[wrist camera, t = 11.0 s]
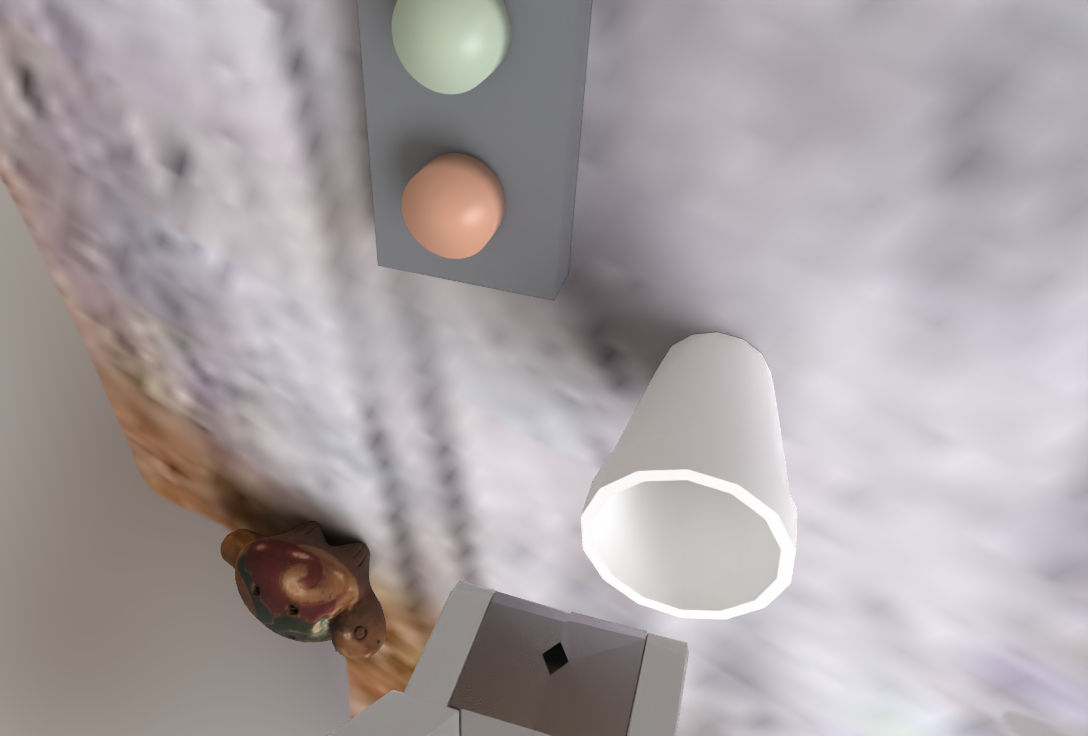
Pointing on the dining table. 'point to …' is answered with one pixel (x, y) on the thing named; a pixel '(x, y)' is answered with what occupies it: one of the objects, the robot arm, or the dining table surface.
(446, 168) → the orange rounded lump
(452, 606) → the robot arm
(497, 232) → the console
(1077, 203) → the dining table surface
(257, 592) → the decorative turtle
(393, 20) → the sage button
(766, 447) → the foam cup
